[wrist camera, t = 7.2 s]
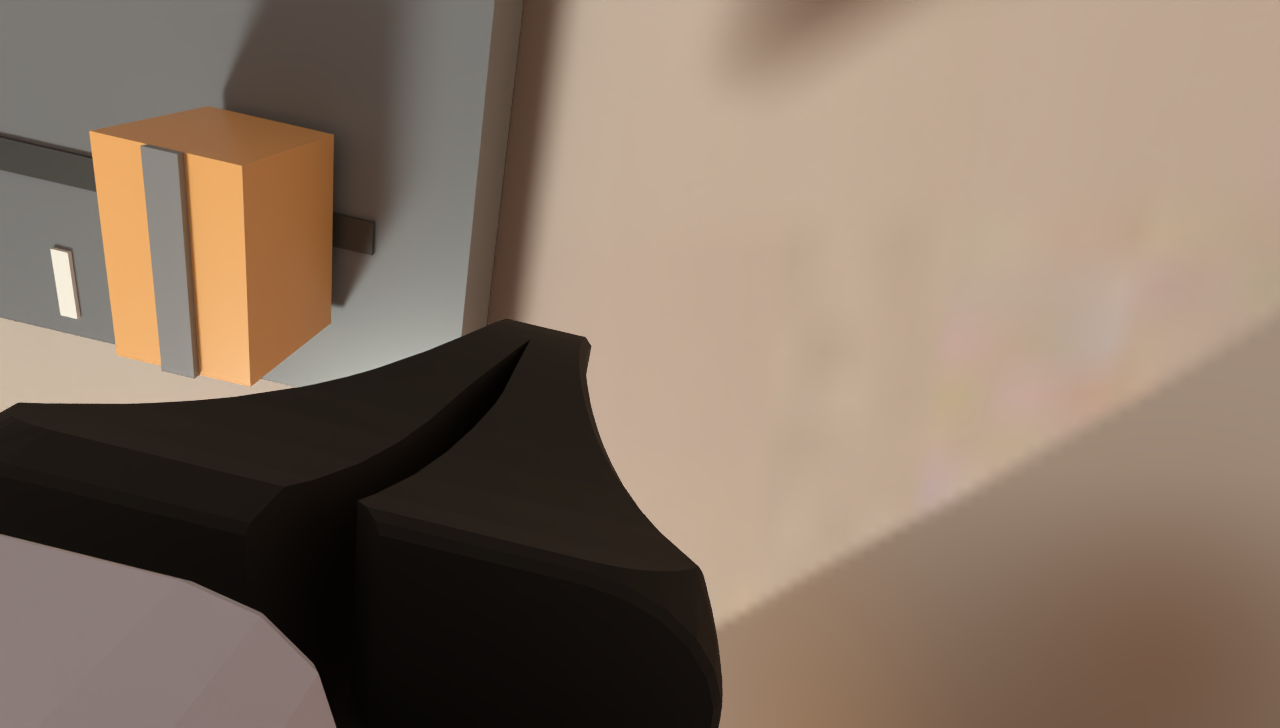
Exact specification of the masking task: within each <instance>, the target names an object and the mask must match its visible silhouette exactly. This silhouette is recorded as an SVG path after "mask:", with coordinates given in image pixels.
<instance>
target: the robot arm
mask: <svg viewBox="0 0 1280 728" xmlns="http://www.w3.org/2000/svg"><path fill="white" fill-rule="evenodd" d="M590 350H591V345H590V343H589V342H588V340H587V339H586V337H582V336H578V335H574V334H570V333H565V332H561V331H557V330H552V329H548V328H544V327H540V326H535V325H531V324H527V323H522V322H518V321H514V320H510V319H505V320H501V321H498V322H496V323H493V324H490V325H488V326H485V327H483V328H481V329H478V330H476V331H474V332H471V333H469V334H466V335H464V336H462V337H459V338H457V339H454V340H452V341H449V342H447V343H445V344H442V345H440V346H437V347H435V348H432V349H430V350H427V351H425V352H422V353H419V354H416V355H413V356H410V357H407V358H405V359H402V360H399V361H396V362H393V363H390V364H387V365H384V366H382V367H379V368H376V369H372V370H369V371H366V372H362V373H358V374H355V375H351V376H347V377H343V378H339V379H335V380H330V381H326V382H322V383H317V384H313V385H308V386H303V387H297V388H291V389H284V390H277V391H271V392H264V393H258V394H251V395H244V396H238V397H229V398H219V399H207V400H196V401H181V402H163V403H140V404H43V403H17V404H15V405H13V406H11V407H10V408H8V409H6V410H4V411H3V412H1V413H0V728H718V727H719V722H720V717H721V709H722V674H721V664H720V655H719V647H718V639H717V634H716V628H715V623H714V618H713V613H712V608H711V604H710V600H709V596H708V591H707V587H706V583H705V580H704V576H703V573H702V571H701V570H700V568H699V566H697V565H696V564H695V563H694V562H693V561H692V560H691V559H690V558H688V557H687V556H686V555H685V554H684V553H683V552H682V551H681V550H679V549H678V548H677V547H676V546H675V545H674V544H673V543H672V542H670V541H669V540H668V539H667V538H666V537H665V536H664V535H663V534H661V533H660V532H659V531H658V529H657V528H656V527H655V526H654V525H653V524H652V523H651V522H650V521H649V519H648V518H647V517H646V516H645V515H644V514H643V513H642V511H641V510H640V509H639V508H638V506H637V505H636V503H635V502H634V500H633V499H632V497H631V496H630V495H629V493H628V492H627V490H626V489H625V487H624V486H623V484H622V482H621V481H620V479H619V477H618V475H617V473H616V471H615V469H614V468H613V466H612V464H611V461H610V459H609V457H608V455H607V453H606V450H605V448H604V446H603V443H602V441H601V438H600V435H599V432H598V429H597V426H596V422H595V419H594V416H593V412H592V408H591V404H590V398H589V392H588V386H587V379H586V372H587V367H588V361H589V356H590Z"/></svg>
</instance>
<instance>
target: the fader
mask: <svg viewBox="0 0 1280 728" xmlns="http://www.w3.org/2000/svg"><path fill="white" fill-rule="evenodd" d="M89 134H90V142H91V150H92V158H93V166H94V174H95V182H96V190H97V199H98V207H99V215H100V223H101V231H102V239H103V247H104V255H105V263H106V271H107V279H108V287H109V295H110V303H111V311H112V319H113V327H114V335H115V344H116V352H117V355H118V356H122V357H126V358H131V359H135V360H139V361H143V362H148V363H152V364H156V365H160V366H161V367H162V371H165V372H169V373H173V374H177V375H181V376H186V377H190V378H196V377H197V376H199V375H203V376H207V377H211V378H215V379H219V380H224V381H228V382H232V383H236V384H241V385H245V386H249V387H251V386H252V385H253V384H255V383H256V382H257V381H258V380H260V379H261V378H262V377H263V376H265V375H266V374H267V373H268V372H270V371H271V370H272V369H274V368H275V367H276V366H277V365H279V364H280V363H281V362H282V361H284V360H285V359H286V358H287V357H289V356H290V355H291V354H293V353H294V352H295V351H296V350H298V349H299V348H300V347H301V346H303V345H304V344H305V343H306V342H308V341H309V340H310V339H311V338H313V337H314V336H315V335H317V334H318V333H319V332H320V331H322V330H323V329H324V328H325V327H327V326H328V325H329V324H330V323H331V295H332V228H333V162H334V134H330V133H325V132H321V131H317V130H312V129H308V128H303V127H299V126H295V125H290V124H286V123H281V122H277V121H272V120H268V119H264V118H259V117H255V116H250V115H246V114H242V113H237V112H233V111H228V110H224V109H219V108H215V107H211V106H206V107H201V108H196V109H191V110H186V111H182V112H177V113H172V114H167V115H163V116H158V117H153V118H148V119H143V120H139V121H134V122H129V123H124V124H120V125H115V126H110V127H105V128H100V129H96V130H91V131H89Z"/></svg>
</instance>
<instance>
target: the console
mask: <svg viewBox="0 0 1280 728" xmlns="http://www.w3.org/2000/svg"><path fill="white" fill-rule="evenodd" d="M523 3H524V0H0V317H1V318H5V319H9V320H14V321H18V322H22V323H26V324H31V325H35V326H39V327H43V328H48V329H52V330H56V331H60V332H65V333H69V334H73V335H77V336H81V337H86V338H90V339H94V340H98V341H103V342H107V343H111V344H115V335H114V327H113V319H112V311H111V303H110V295H109V287H108V279H107V271H106V263H105V255H104V247H103V239H102V231H101V223H100V215H99V207H98V199H97V190H96V182H95V174H94V166H93V158H92V150H91V142H90V134H89V131H91V130H96V129H100V128H105V127H110V126H115V125H120V124H124V123H129V122H134V121H139V120H143V119H148V118H153V117H158V116H163V115H167V114H172V113H177V112H182V111H186V110H191V109H196V108H201V107H206V106H211V107H215V108H219V109H224V110H228V111H233V112H237V113H242V114H246V115H250V116H255V117H259V118H264V119H268V120H272V121H277V122H281V123H286V124H290V125H295V126H299V127H303V128H308V129H312V130H317V131H321V132H325V133H330V134H334V162H333V228H332V295H331V323H330V324H329V325H328V326H327V327H325V328H324V329H323V330H322V331H320V332H319V333H318V334H317V335H315V336H314V337H313V338H311V339H310V340H309V341H308V342H306V343H305V344H304V345H303V346H301V347H300V348H299V349H298V350H296V351H295V352H294V353H293V354H291V355H290V356H289V357H287V358H286V359H285V360H284V361H282V362H281V363H280V364H279V365H277V366H276V367H275V368H274V369H272V370H271V371H270V372H268V373H267V374H266V375H265V376H263V377H262V378H261V379H264V380H268V381H272V382H276V383H281V384H285V385H289V386H293V387H303V386H308V385H313V384H317V383H322V382H326V381H330V380H335V379H339V378H343V377H347V376H351V375H355V374H358V373H362V372H366V371H369V370H372V369H376V368H379V367H382V366H384V365H387V364H390V363H393V362H396V361H399V360H402V359H405V358H407V357H410V356H413V355H416V354H419V353H422V352H425V351H427V350H430V349H432V348H435V347H437V346H440V345H442V344H445V343H447V342H449V341H452V340H454V339H457V338H459V337H462V336H464V335H466V334H469V333H471V332H474V331H476V330H478V329H481V328H483V327H485V326H487V317H488V309H489V300H490V291H491V282H492V274H493V265H494V256H495V248H496V239H497V230H498V221H499V213H500V204H501V195H502V186H503V178H504V169H505V160H506V151H507V143H508V134H509V125H510V116H511V108H512V99H513V90H514V82H515V73H516V64H517V55H518V47H519V38H520V29H521V20H522V12H523ZM115 345H116V344H115Z"/></svg>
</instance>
